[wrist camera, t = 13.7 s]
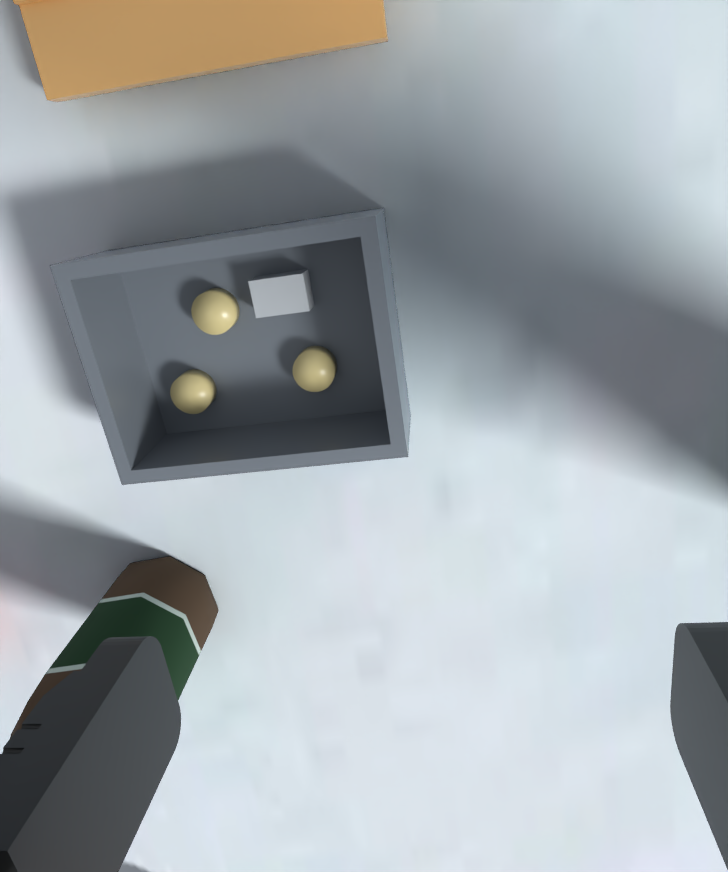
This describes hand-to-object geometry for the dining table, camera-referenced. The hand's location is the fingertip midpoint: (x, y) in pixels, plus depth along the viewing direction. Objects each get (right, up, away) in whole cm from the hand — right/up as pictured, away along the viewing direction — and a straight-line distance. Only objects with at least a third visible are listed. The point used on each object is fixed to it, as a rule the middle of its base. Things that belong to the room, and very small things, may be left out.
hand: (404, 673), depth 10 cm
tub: (-7, +10, +27) cm, 30 cm away
